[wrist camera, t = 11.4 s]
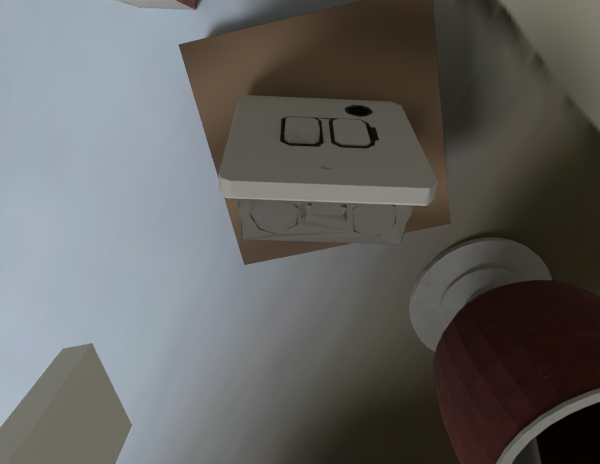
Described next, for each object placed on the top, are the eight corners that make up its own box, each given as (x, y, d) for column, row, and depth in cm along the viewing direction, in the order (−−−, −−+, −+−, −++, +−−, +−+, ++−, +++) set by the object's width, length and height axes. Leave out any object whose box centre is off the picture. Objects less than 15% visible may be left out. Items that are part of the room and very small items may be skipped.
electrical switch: (399, 100, 25) (452, 147, 16) (387, 182, 27) (427, 259, 19) (239, 93, 24) (211, 137, 16) (241, 177, 27) (217, 252, 19)
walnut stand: (424, 195, 33) (450, 223, 28) (252, 230, 34) (244, 264, 29) (403, -2, 28) (431, -16, 22) (200, 46, 29) (178, 44, 23)
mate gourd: (538, 201, 34) (838, 378, 15) (572, 330, 39) (829, 582, 20) (359, 275, 36) (430, 507, 18) (412, 388, 41) (512, 662, 22)
